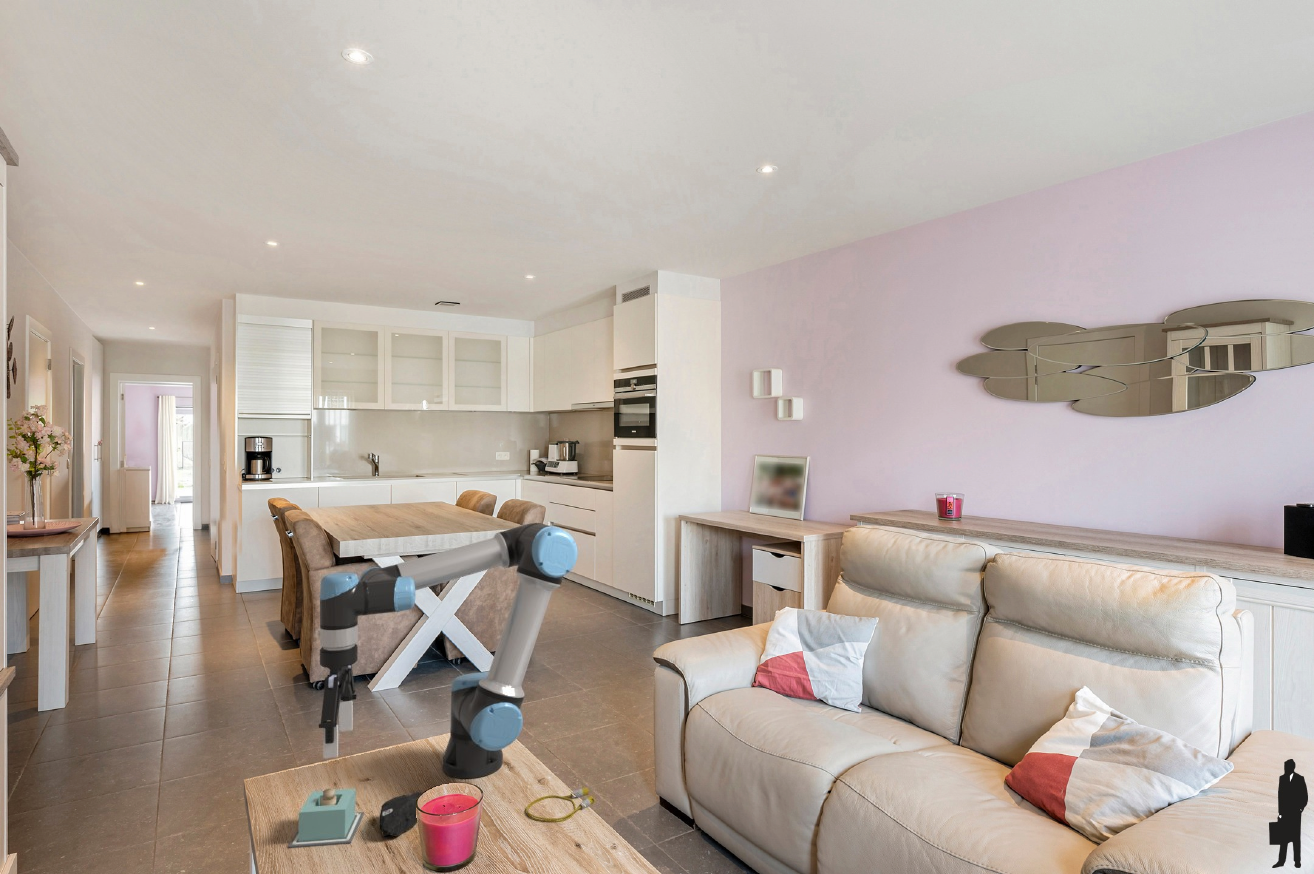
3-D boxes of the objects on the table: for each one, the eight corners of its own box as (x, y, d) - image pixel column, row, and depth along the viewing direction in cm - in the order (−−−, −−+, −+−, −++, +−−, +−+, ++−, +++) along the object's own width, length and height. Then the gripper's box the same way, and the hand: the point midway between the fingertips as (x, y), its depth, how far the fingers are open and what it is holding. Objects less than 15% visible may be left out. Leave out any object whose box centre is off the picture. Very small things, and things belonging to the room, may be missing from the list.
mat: (364, 813, 158) (364, 811, 158) (350, 843, 146) (350, 841, 146) (306, 817, 156) (306, 815, 156) (288, 847, 144) (288, 845, 144)
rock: (426, 833, 150) (427, 805, 150) (381, 843, 146) (382, 814, 146) (420, 812, 159) (421, 785, 159) (377, 820, 155) (378, 793, 155)
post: (337, 824, 152) (338, 786, 153) (333, 831, 149) (334, 793, 150) (322, 825, 152) (323, 787, 152) (318, 832, 149) (319, 794, 149)
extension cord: (598, 820, 157) (598, 811, 157) (526, 826, 154) (526, 817, 154) (592, 794, 169) (592, 785, 169) (525, 799, 166) (525, 790, 166)
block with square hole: (311, 818, 154) (312, 791, 154) (355, 815, 156) (355, 788, 156) (298, 841, 146) (299, 812, 146) (344, 838, 147) (345, 809, 147)
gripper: (334, 630, 165) (334, 721, 165) (303, 664, 140) (303, 771, 140) (368, 629, 166) (368, 719, 166) (343, 662, 142) (343, 767, 142)
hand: (338, 743), depth 153 cm, fingers open, 13 cm apart
